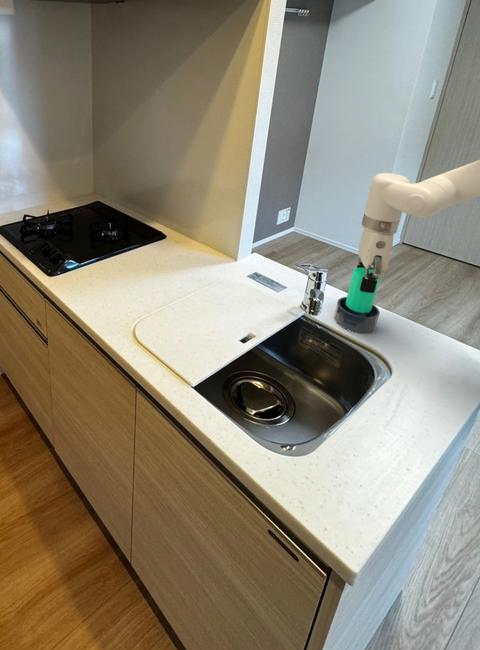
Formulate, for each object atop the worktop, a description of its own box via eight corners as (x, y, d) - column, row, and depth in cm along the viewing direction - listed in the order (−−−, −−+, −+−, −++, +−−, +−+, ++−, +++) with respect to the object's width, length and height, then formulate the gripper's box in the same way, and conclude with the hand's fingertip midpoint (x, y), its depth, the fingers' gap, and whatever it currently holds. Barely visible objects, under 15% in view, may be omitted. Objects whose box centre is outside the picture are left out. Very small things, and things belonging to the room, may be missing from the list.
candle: (361, 315, 108) (371, 275, 104) (340, 303, 113) (349, 265, 109) (376, 309, 110) (387, 270, 106) (355, 297, 115) (364, 260, 111)
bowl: (370, 315, 116) (374, 300, 114) (379, 337, 108) (383, 321, 106) (331, 308, 120) (335, 294, 118) (337, 329, 111) (340, 313, 109)
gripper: (408, 239, 94) (389, 306, 101) (388, 212, 109) (372, 271, 116) (370, 235, 96) (354, 300, 103) (356, 209, 111) (342, 267, 118)
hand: (364, 284), depth 109 cm, fingers closed on candle, 5 cm apart
